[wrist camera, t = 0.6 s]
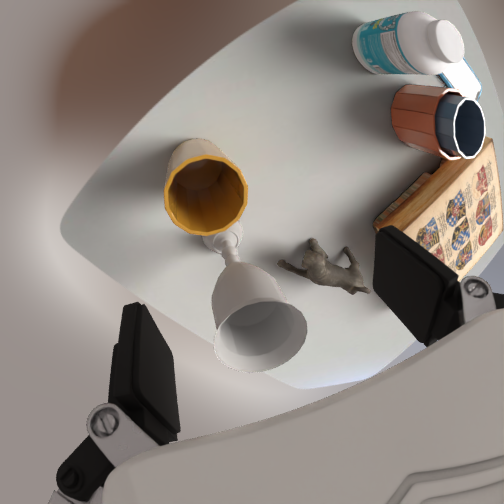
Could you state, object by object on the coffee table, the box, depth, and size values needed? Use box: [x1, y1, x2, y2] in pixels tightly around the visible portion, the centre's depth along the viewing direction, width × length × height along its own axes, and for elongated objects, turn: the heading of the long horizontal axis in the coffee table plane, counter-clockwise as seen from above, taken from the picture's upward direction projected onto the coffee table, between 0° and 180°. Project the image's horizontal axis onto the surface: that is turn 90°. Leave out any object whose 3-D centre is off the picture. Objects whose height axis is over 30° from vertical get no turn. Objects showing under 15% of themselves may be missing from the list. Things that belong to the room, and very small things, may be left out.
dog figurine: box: [277, 238, 371, 295], centre depth 37 cm, size 12×6×7 cm, turn 64°
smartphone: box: [439, 57, 482, 102], centre depth 30 cm, size 8×1×15 cm
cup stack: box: [391, 85, 485, 160], centre depth 28 cm, size 9×9×11 cm
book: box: [373, 137, 503, 281], centre depth 41 cm, size 25×6×28 cm
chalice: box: [202, 221, 307, 373], centre depth 27 cm, size 7×7×18 cm
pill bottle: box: [352, 11, 464, 75], centre depth 22 cm, size 8×7×14 cm
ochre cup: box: [164, 138, 248, 236], centre depth 25 cm, size 6×6×12 cm
